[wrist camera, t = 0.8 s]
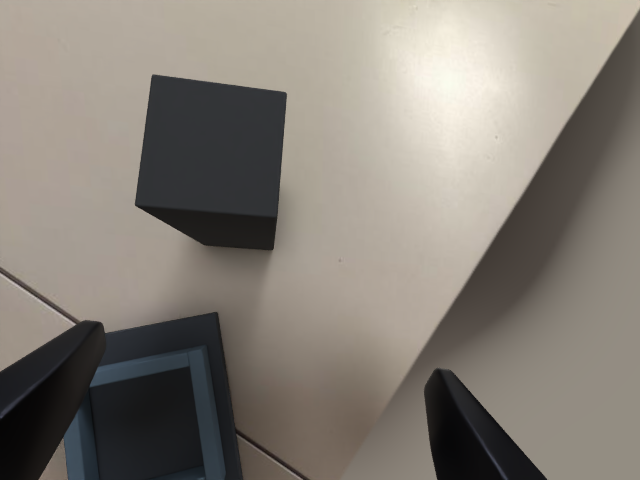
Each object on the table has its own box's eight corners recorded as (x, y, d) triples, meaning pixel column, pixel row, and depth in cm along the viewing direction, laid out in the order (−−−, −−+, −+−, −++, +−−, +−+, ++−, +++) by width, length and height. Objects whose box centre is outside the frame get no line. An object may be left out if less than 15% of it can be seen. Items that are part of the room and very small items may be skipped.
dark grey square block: (273, 250, 23) (277, 218, 12) (203, 245, 23) (133, 206, 11) (278, 184, 24) (286, 91, 12) (210, 178, 23) (150, 73, 12)
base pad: (245, 491, 22) (242, 518, 19) (85, 535, 20) (60, 570, 18) (217, 311, 23) (211, 315, 20) (64, 341, 21) (37, 348, 19)
